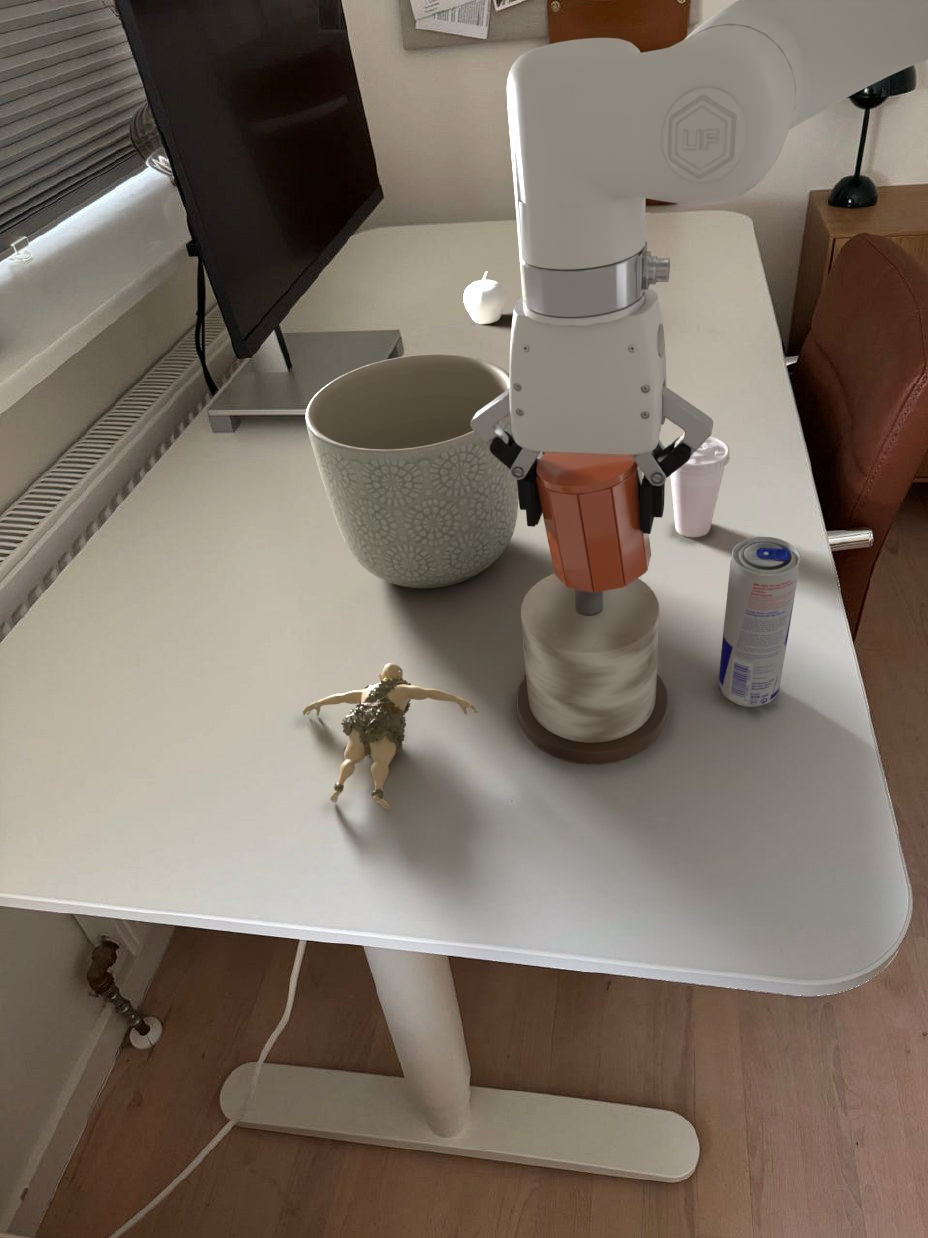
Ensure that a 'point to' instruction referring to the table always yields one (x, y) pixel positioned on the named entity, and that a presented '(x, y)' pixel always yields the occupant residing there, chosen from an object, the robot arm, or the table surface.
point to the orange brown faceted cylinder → (593, 519)
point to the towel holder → (591, 671)
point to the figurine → (379, 723)
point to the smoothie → (698, 488)
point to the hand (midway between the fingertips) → (591, 518)
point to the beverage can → (757, 619)
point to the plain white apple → (485, 300)
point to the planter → (415, 467)
